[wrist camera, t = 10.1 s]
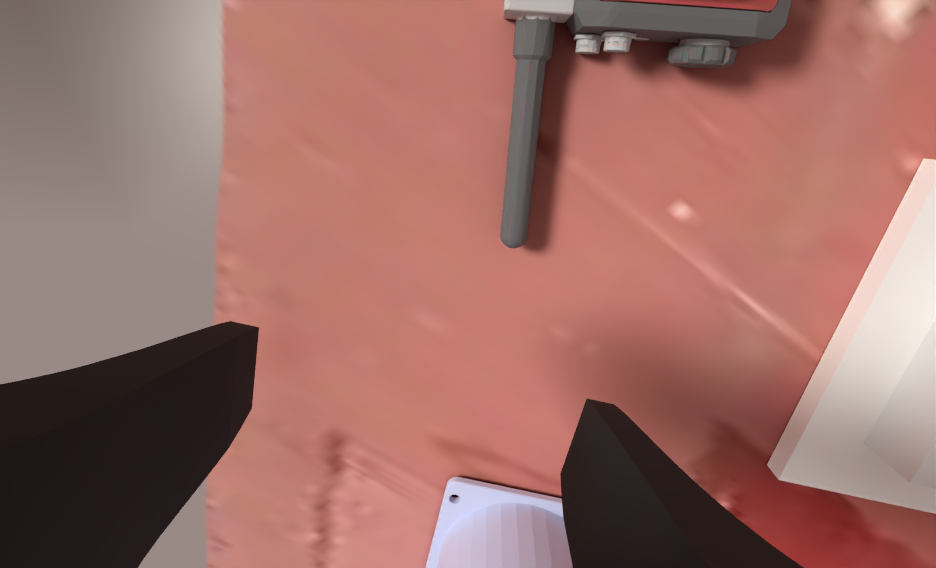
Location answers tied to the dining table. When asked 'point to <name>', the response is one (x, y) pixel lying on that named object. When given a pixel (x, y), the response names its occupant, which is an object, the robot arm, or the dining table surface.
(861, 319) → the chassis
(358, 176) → the dining table surface
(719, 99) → the dining table surface
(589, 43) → the walkie-talkie
